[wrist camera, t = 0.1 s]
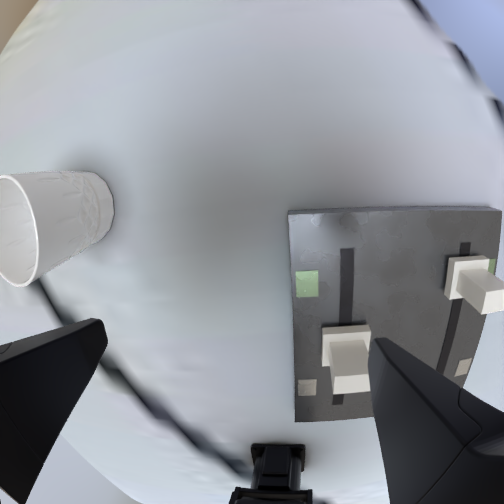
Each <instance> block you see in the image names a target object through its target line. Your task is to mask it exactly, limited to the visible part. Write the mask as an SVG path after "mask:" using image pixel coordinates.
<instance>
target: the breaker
mask: <svg viewBox="0 0 504 504" xmlns="http://www.w3.org/2000/svg"><path fill="white" fill-rule="evenodd" d="M488 266H489V259H488V258H487V257H485V256H483V255H480V256H466V257H452V258H449V262H448V270H447V278H446V285H445V292H444V295H445V296H446V297H447V298H448V299H449V300H451V299H458V298H464V299H466V300H467V301H468V302H469V303H470V304H471V305H472V306H473V307H474V308H475V309H476V310H477V311H478V312H479V313H480V314H481V315H482V314H488V313H493V312H498V311H503V310H504V282H503V281H502V280H500V279H499V278H497V277H496V276H495V275H493V274H492V273H490V272H489V271H488Z"/></svg>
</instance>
